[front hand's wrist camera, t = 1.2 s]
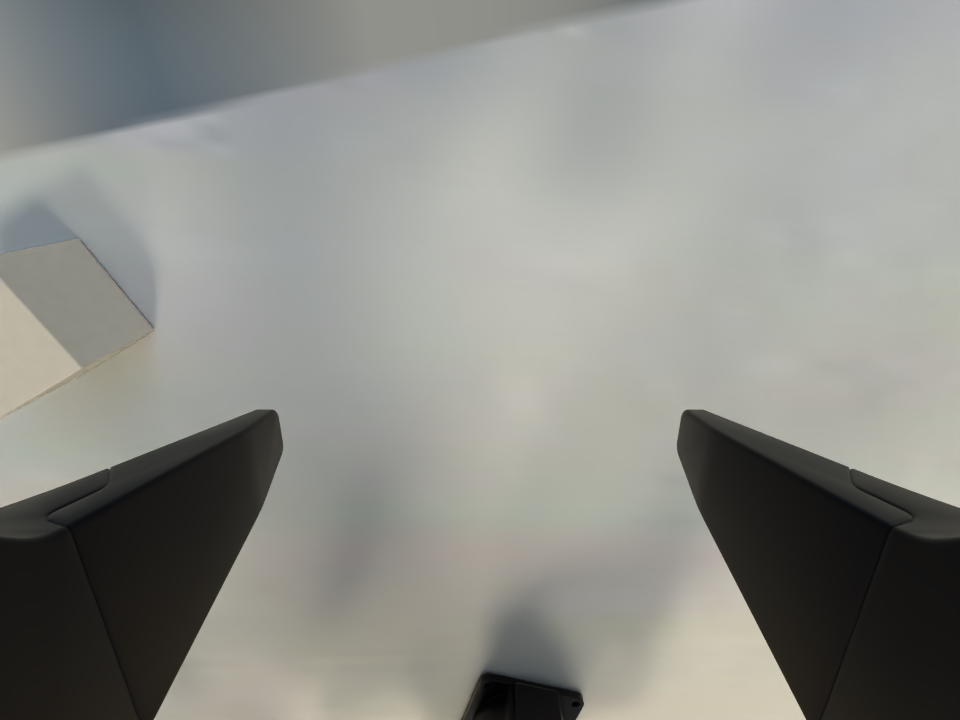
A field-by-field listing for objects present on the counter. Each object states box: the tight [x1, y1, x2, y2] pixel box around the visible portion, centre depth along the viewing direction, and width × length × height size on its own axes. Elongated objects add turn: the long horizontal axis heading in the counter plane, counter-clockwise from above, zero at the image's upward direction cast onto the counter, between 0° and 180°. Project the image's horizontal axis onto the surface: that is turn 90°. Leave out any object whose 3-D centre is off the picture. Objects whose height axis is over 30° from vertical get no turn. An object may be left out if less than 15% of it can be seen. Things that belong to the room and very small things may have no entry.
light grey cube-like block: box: [0, 239, 154, 419], centre depth 20 cm, size 4×5×4 cm
